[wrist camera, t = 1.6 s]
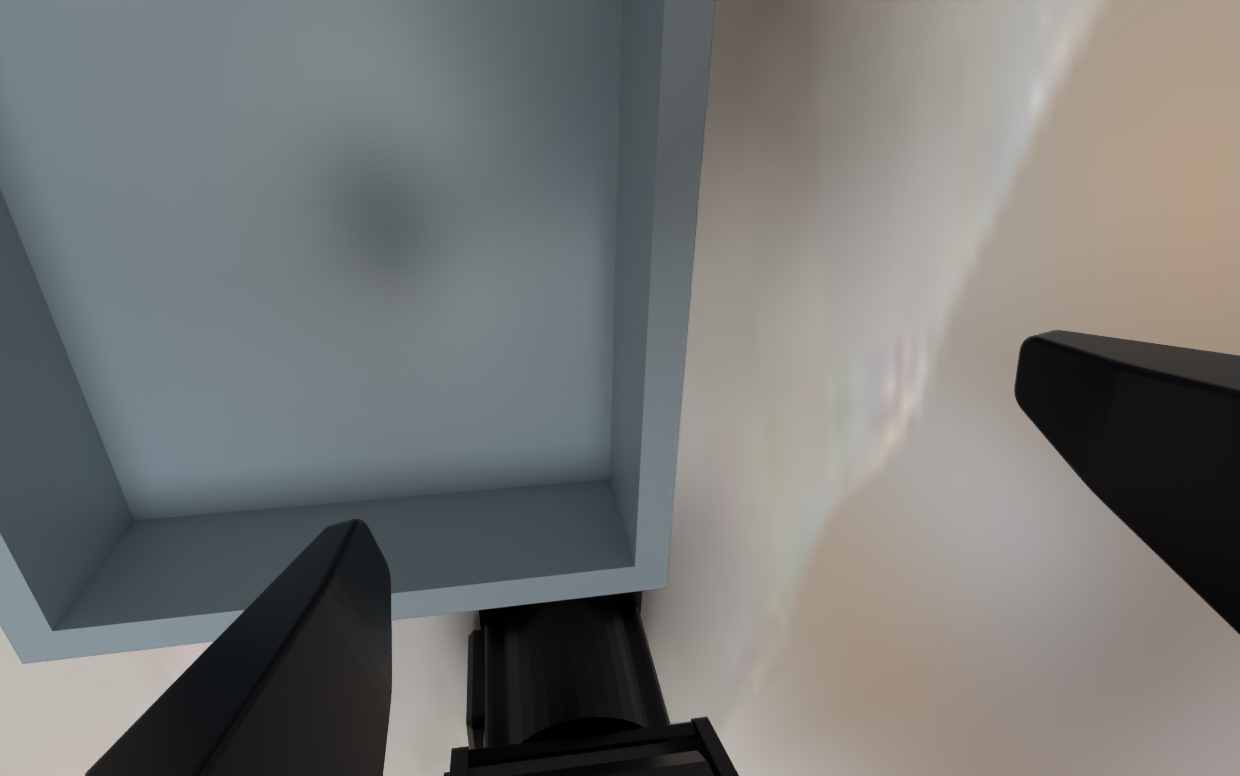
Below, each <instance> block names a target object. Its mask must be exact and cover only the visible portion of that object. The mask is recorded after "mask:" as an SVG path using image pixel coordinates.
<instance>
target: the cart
mask: <svg viewBox="0 0 1240 776" xmlns="http://www.w3.org/2000/svg"><path fill="white" fill-rule="evenodd" d="M714 7H715V0H0V626H1V628H2V629H3V631H4V633H5V635H6V636H7V638H8V640H9V641H10V643H11V645H12V647H13V648H14V650H15V652H16V653H17V655H18V657H19V659H20V660H21V662H22V664H27V663H36V662H44V661H52V660H61V659H69V658H78V657H86V656H95V655H103V654H112V653H120V652H128V651H137V650H145V649H154V648H162V647H171V646H179V645H188V644H196V643H205V642H213V641H215V640H216V639H217V638H218V637H219V636H220V635H221V634H222V633H223V632H224V631H225V630H226V629H227V628H228V627H229V626H230V625H231V624H232V623H233V622H234V621H235V620H236V619H237V618H238V617H239V616H240V615H241V614H242V613H243V611H244V610H245V609H246V608H247V607H248V606H249V605H250V604H251V603H252V602H253V601H254V600H255V599H256V598H257V597H258V596H259V595H260V594H261V593H262V592H263V591H264V590H265V589H266V588H267V587H268V586H269V585H270V584H271V583H272V582H273V581H274V580H275V579H276V578H277V577H278V576H279V575H280V574H281V573H282V572H283V571H284V569H285V568H286V567H287V566H288V565H289V564H290V563H291V562H292V561H293V560H294V559H295V558H296V557H297V556H298V555H299V554H300V553H301V552H302V551H303V550H304V549H305V548H306V547H307V546H308V545H309V544H310V543H311V542H312V541H313V540H314V539H315V538H316V537H317V536H318V535H319V534H320V533H321V532H322V531H323V530H324V529H325V528H326V527H327V526H329V525H331V524H335V523H339V522H342V521H346V520H350V519H354V518H360V519H362V520H363V521H364V522H365V523H366V524H367V525H368V527H369V529H370V531H371V533H372V535H373V537H374V538H375V540H376V542H377V544H378V546H379V548H380V550H381V552H382V554H383V556H384V558H385V560H386V562H387V564H388V567H389V570H390V575H391V620H399V619H407V618H416V617H424V616H433V615H441V614H450V613H458V612H467V611H475V610H484V609H492V608H500V607H509V606H517V605H526V604H534V603H543V602H551V601H560V600H568V599H577V598H585V597H593V596H602V595H610V594H619V593H627V592H636V591H644V590H653V589H661V588H666V582H667V570H668V558H669V546H670V534H671V522H672V510H673V498H674V486H675V474H676V462H677V450H678V438H679V426H680V414H681V402H682V390H683V378H684V366H685V354H686V342H687V330H688V318H689V306H690V294H691V282H692V270H693V259H694V247H695V235H696V223H697V211H698V199H699V187H700V175H701V163H702V151H703V139H704V127H705V115H706V103H707V91H708V79H709V67H710V55H711V43H712V31H713V19H714Z"/></svg>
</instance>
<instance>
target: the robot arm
mask: <svg viewBox="0 0 1240 776" xmlns="http://www.w3.org/2000/svg"><path fill="white" fill-rule="evenodd" d="M1014 389H1015V391H1014V392H1015V397H1016V400H1017V402H1018V405H1019V406H1020V408H1021V409H1022V410H1023V411H1024V412H1025V414H1026V415H1027V416H1028V417H1029V418H1030V420H1031V421H1032V422H1033V423H1034V424H1035V426H1036V427H1037V428H1038V429H1039V430H1040V431H1041V433H1042V434H1043V435H1044V436H1045V437H1046V438H1047V440H1048V441H1049V442H1050V443H1051V444H1052V445H1053V447H1054V448H1055V449H1056V450H1057V451H1058V452H1059V454H1060V455H1061V456H1062V457H1063V458H1064V459H1065V461H1066V462H1067V463H1068V464H1069V465H1070V467H1071V468H1072V469H1073V470H1074V471H1075V472H1076V474H1077V475H1078V476H1079V477H1080V478H1081V480H1082V481H1083V482H1084V483H1085V484H1086V485H1087V486H1088V487H1089V488H1090V490H1091V491H1092V492H1093V493H1094V494H1095V495H1096V496H1097V497H1098V498H1099V499H1100V500H1101V501H1102V502H1103V503H1104V504H1105V505H1106V506H1107V507H1108V508H1109V509H1110V510H1111V511H1112V512H1113V513H1114V514H1115V515H1116V516H1118V517H1119V518H1120V519H1121V520H1122V521H1123V522H1124V523H1125V524H1126V525H1127V526H1128V527H1129V528H1130V529H1131V530H1132V531H1133V532H1134V533H1135V534H1136V535H1137V536H1138V537H1139V538H1140V539H1141V540H1142V541H1143V542H1144V543H1145V544H1146V545H1147V546H1149V547H1150V548H1151V549H1152V550H1153V551H1154V552H1155V553H1156V554H1157V555H1158V556H1159V557H1160V558H1161V559H1162V560H1163V561H1164V562H1165V563H1166V564H1167V565H1168V566H1169V567H1170V568H1171V569H1172V570H1173V571H1174V572H1175V573H1176V574H1177V575H1179V576H1180V577H1181V578H1182V579H1183V580H1184V581H1185V582H1186V583H1187V584H1188V585H1189V586H1190V587H1191V588H1192V589H1193V590H1194V591H1195V592H1196V593H1197V594H1198V595H1199V596H1200V597H1201V598H1202V599H1203V600H1204V601H1205V602H1206V603H1207V604H1208V605H1210V606H1211V607H1212V608H1213V609H1214V610H1215V611H1216V612H1217V613H1218V614H1219V615H1220V616H1221V617H1222V618H1223V619H1224V620H1225V621H1226V622H1227V623H1228V624H1229V625H1230V626H1231V627H1232V628H1233V629H1234V630H1235V631H1237V633H1238V634H1240V356H1238V355H1232V354H1224V353H1217V352H1210V351H1203V350H1195V349H1189V348H1182V347H1175V346H1168V345H1161V344H1154V343H1147V342H1140V341H1133V340H1126V339H1119V338H1112V337H1105V336H1098V335H1090V334H1084V333H1077V332H1070V331H1062V330H1054V331H1049V332H1045V333H1041V334H1038V335H1034V336H1030V337H1028V338H1027V339H1026V340H1024V342H1023V343H1022V345H1021V347H1020V352H1019V360H1018V367H1017V373H1016V381H1015V388H1014ZM641 596H642V591H636V592H627V593H619V594H610V595H602V596H593V597H585V598H577V599H568V600H560V601H551V602H543V603H534V604H526V605H517V606H509V607H500V608H492V609H484V610H479V616H480V626H481V629H480V630H474V631H473V632H472V633H471V634H470V635H469V638H468V677H467V716H466V725H467V733H468V741H469V746H468V747H459V748H452V752H451V765H450V772H446V773H444V776H739V775H738V773H737V771H736V770H735V768H734V766H733V764H732V762H731V760H730V758H729V757H728V755H727V753H726V751H725V749H724V747H723V745H722V743H721V742H720V740H719V738H718V736H717V734H716V732H715V730H714V728H713V727H712V725H711V723H710V721H709V719H708V718H707V717H702V718H693V719H691V722H684V723H676V724H670V721H669V718H668V714H667V710H666V707H665V703H664V699H663V696H662V692H661V689H660V685H659V681H658V678H657V674H656V671H655V667H654V663H653V660H652V656H651V652H650V649H649V645H648V642H647V638H646V634H645V631H644V627H643V623H642V620H641V616H640V613H641ZM391 692H392V626H391V575H390V570H389V567H388V564H387V562H386V560H385V558H384V556H383V554H382V552H381V550H380V548H379V546H378V544H377V542H376V540H375V538H374V537H373V535H372V533H371V531H370V529H369V527H368V525H367V524H366V523H365V522H364V521H363V520H362V519H360V518H354V519H350V520H346V521H342V522H339V523H335V524H331V525H329V526H327V527H326V528H325V529H324V530H323V531H322V532H321V533H320V534H319V535H318V536H317V537H316V538H315V539H314V540H313V541H312V542H311V543H310V544H309V545H308V546H307V547H306V548H305V549H304V550H303V551H302V552H301V553H300V554H299V555H298V556H297V557H296V558H295V559H294V560H293V561H292V562H291V563H290V564H289V565H288V566H287V567H286V568H285V569H284V571H283V572H282V573H281V574H280V575H279V576H278V577H277V578H276V579H275V580H274V581H273V582H272V583H271V584H270V585H269V586H268V587H267V588H266V589H265V590H264V591H263V592H262V593H261V594H260V595H259V596H258V597H257V598H256V599H255V600H254V601H253V602H252V603H251V604H250V605H249V606H248V607H247V608H246V609H245V610H244V611H243V613H242V614H241V615H240V616H239V617H238V618H237V619H236V620H235V621H234V622H233V623H232V624H231V625H230V626H229V627H228V628H227V629H226V630H225V631H224V632H223V633H222V634H221V635H220V636H219V637H218V638H217V639H216V640H215V641H214V642H213V643H212V644H211V645H210V646H209V647H208V648H207V649H206V650H205V651H204V652H203V653H202V654H201V656H200V657H199V658H198V659H197V660H196V661H195V662H194V663H193V664H192V665H191V666H190V667H189V668H188V669H187V670H186V671H185V672H184V673H183V674H182V675H181V676H180V677H179V678H178V679H177V680H176V681H175V682H174V683H173V684H172V685H171V686H170V687H169V688H168V689H167V690H166V691H165V692H164V693H163V694H162V695H161V696H160V697H159V699H158V700H157V701H156V702H155V703H154V704H153V705H152V706H151V707H150V708H149V709H148V710H147V711H146V712H145V713H144V714H143V715H142V716H141V717H140V718H139V719H138V720H137V721H136V722H135V723H134V724H133V725H132V726H131V727H130V728H129V729H128V730H127V731H126V732H125V733H124V734H123V735H122V736H121V737H120V738H119V739H118V740H117V742H116V743H115V744H114V745H113V746H112V747H111V748H110V749H109V750H108V751H107V752H106V753H105V754H104V755H103V756H102V757H101V758H100V759H99V760H98V761H97V762H96V763H95V764H94V765H93V766H92V767H91V768H90V769H89V770H88V771H87V772H86V774H85V776H383V769H384V760H385V751H386V742H387V733H388V724H389V715H390V704H391Z"/></svg>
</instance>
